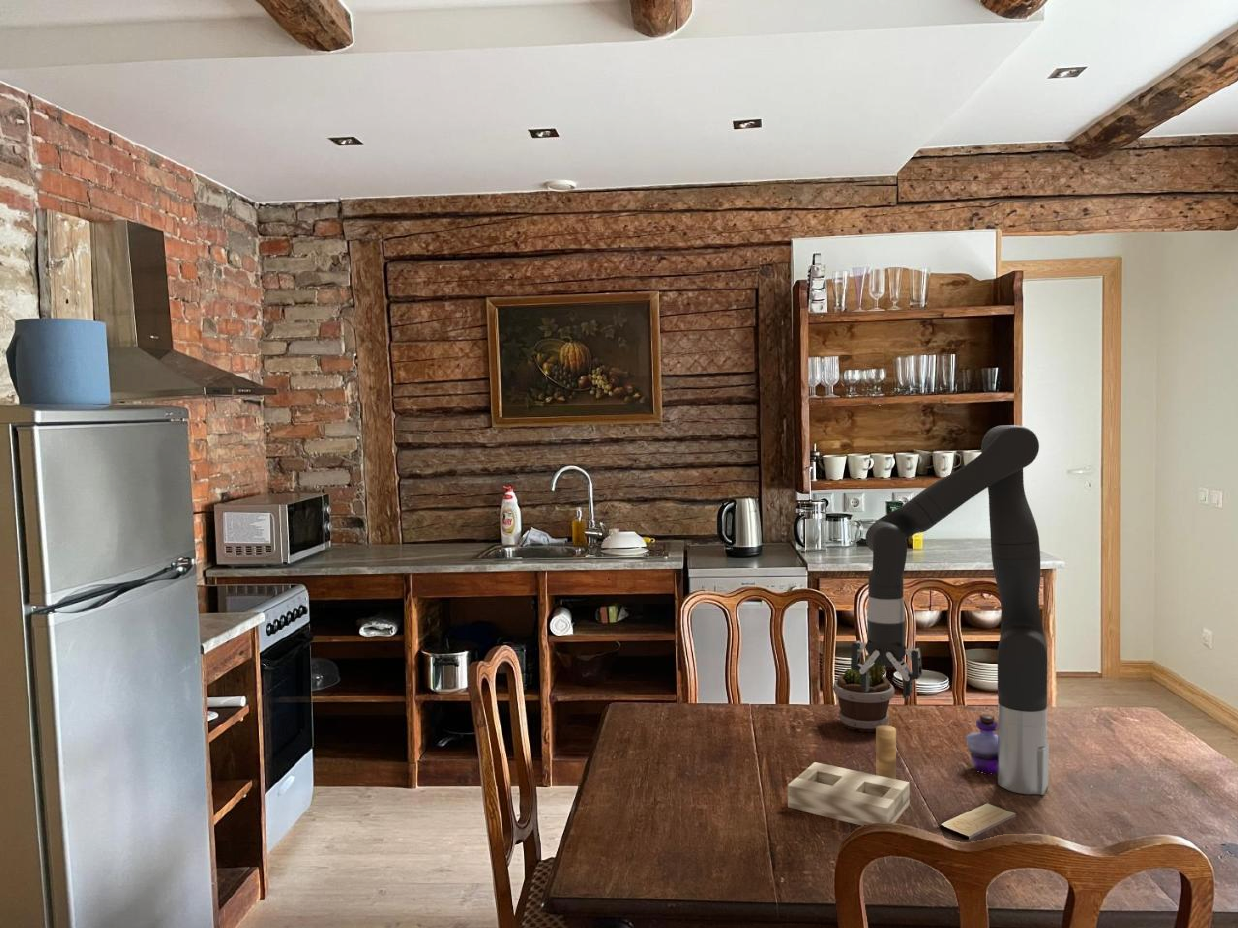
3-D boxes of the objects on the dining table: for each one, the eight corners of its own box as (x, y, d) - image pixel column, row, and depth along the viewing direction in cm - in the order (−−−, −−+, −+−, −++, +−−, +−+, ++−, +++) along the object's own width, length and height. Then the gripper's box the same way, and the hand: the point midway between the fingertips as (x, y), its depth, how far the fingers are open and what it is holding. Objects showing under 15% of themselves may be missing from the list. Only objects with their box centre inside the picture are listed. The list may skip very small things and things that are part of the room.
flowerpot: (853, 739, 216) (853, 657, 214) (822, 718, 230) (822, 641, 229) (906, 732, 219) (906, 651, 218) (873, 712, 234) (872, 637, 233)
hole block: (909, 804, 180) (909, 782, 180) (887, 831, 168) (887, 808, 168) (814, 782, 191) (814, 761, 191) (787, 806, 180) (787, 784, 179)
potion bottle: (1010, 779, 191) (1010, 724, 190) (966, 775, 193) (966, 720, 193) (1006, 764, 199) (1006, 711, 198) (964, 760, 202) (965, 707, 201)
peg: (898, 783, 190) (898, 727, 189) (892, 789, 187) (892, 733, 186) (879, 778, 192) (879, 724, 192) (873, 785, 189) (873, 729, 188)
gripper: (925, 618, 187) (925, 694, 188) (858, 610, 195) (859, 684, 196) (915, 625, 180) (914, 704, 181) (846, 617, 189) (846, 693, 189)
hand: (885, 693), depth 189 cm, fingers open, 8 cm apart
